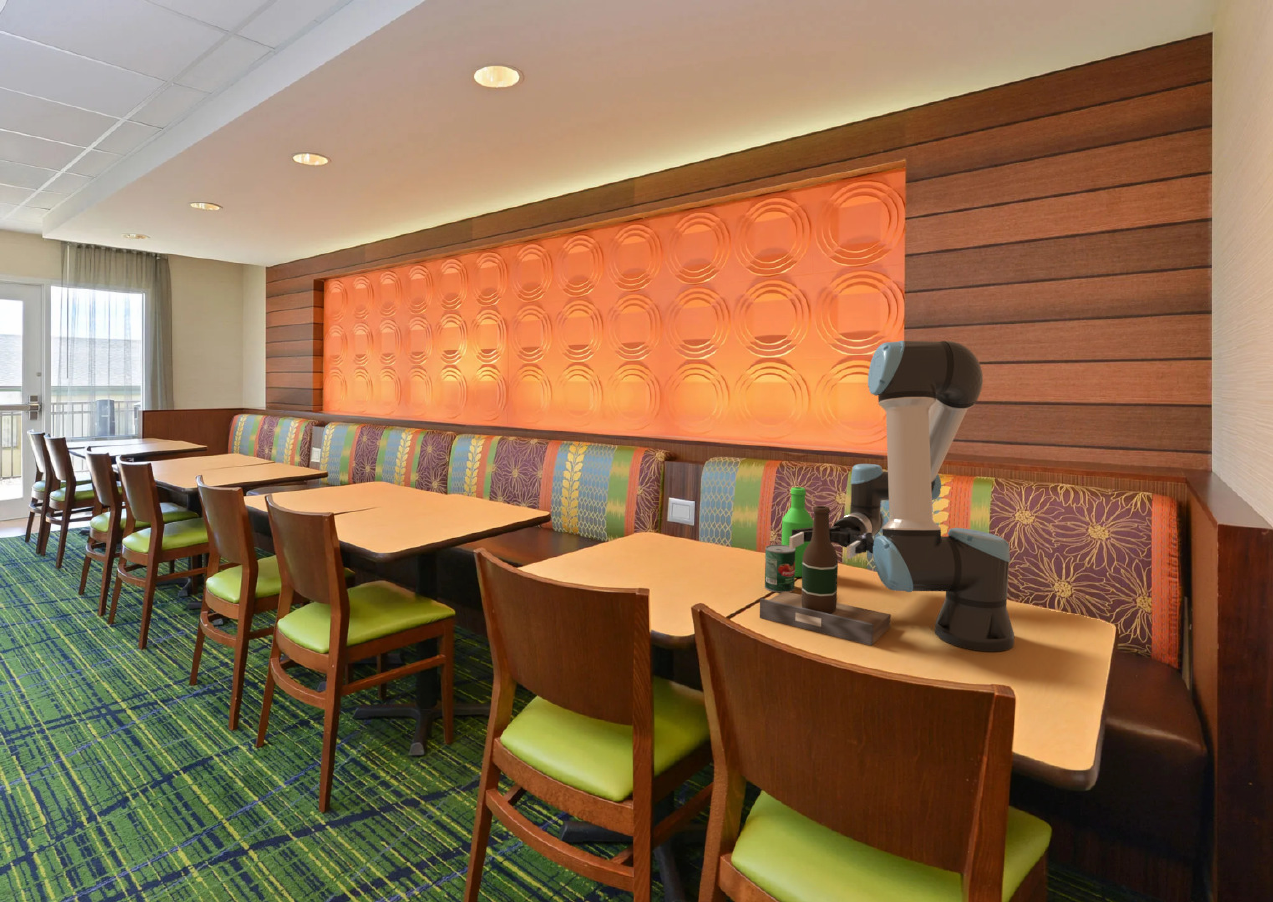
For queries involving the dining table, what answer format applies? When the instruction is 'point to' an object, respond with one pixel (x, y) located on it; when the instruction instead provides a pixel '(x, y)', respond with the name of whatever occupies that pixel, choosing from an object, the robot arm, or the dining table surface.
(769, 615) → the shelf
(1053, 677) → the dining table surface
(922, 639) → the dining table surface
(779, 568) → the canned tomato
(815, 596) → the beer bottle
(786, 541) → the bottle
